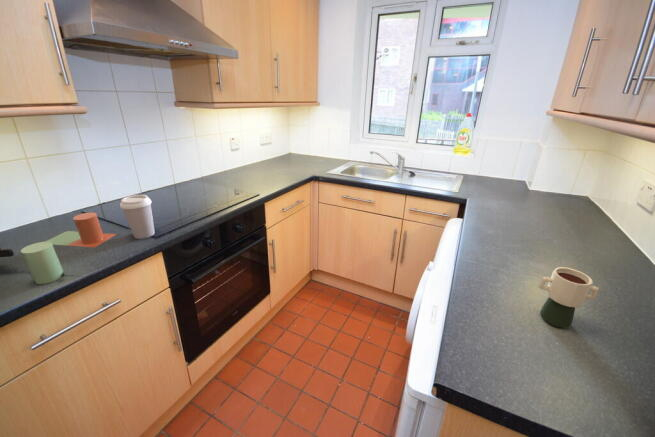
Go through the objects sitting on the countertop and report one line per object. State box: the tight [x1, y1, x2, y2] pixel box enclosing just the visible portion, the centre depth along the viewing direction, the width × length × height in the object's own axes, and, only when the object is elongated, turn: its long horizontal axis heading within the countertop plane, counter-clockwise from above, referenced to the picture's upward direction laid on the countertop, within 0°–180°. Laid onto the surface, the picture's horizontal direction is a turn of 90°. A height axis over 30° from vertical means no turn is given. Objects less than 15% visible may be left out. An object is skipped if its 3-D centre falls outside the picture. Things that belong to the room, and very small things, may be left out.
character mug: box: [538, 266, 600, 329], centre depth 69 cm, size 11×7×13 cm, turn 69°
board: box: [44, 230, 117, 248], centre depth 105 cm, size 10×20×1 cm, turn 84°
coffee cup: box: [119, 194, 156, 240], centre depth 106 cm, size 10×10×15 cm
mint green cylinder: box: [20, 241, 65, 285], centre depth 83 cm, size 6×6×10 cm
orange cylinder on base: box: [72, 212, 104, 244], centre depth 102 cm, size 6×6×9 cm
